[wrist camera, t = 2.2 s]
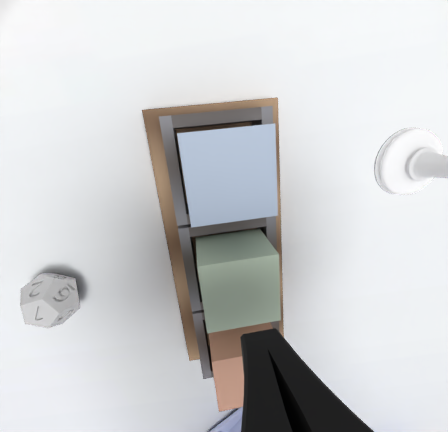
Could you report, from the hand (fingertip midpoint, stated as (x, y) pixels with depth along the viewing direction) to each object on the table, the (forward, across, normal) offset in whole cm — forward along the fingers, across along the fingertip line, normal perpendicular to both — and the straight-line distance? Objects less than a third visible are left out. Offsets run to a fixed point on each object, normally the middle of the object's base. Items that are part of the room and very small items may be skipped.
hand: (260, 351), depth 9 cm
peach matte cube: (+7, 0, +6) cm, 9 cm away
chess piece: (+10, -14, -4) cm, 18 cm away
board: (+10, 0, 0) cm, 10 cm away
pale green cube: (+7, 0, 0) cm, 7 cm away
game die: (+10, +12, +2) cm, 16 cm away
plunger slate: (+7, 0, -6) cm, 9 cm away
